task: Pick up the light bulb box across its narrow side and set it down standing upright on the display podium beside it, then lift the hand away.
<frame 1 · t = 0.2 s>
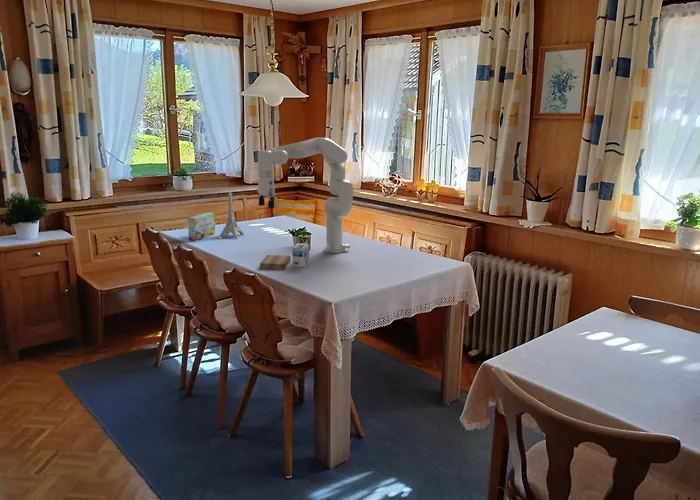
hand: (266, 206, 295), 31 cm above the table, tool pointing down, fingers open, 9 cm apart
eiffel tower: (231, 236, 363), on the table
light bulb box: (301, 265, 299), on the table
snack box: (202, 238, 358), on the table
podium: (275, 264, 299), on the table
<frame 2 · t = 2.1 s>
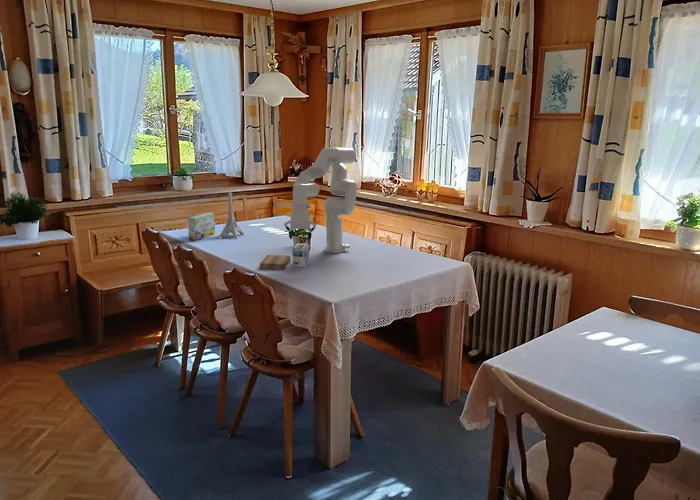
hand: (300, 239, 295), 14 cm above the table, tool pointing down, fingers open, 9 cm apart
nothing on the table moved.
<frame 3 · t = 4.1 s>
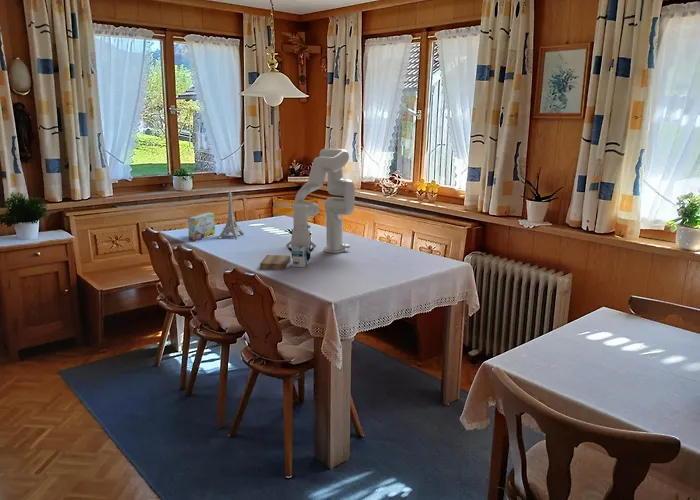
hand: (301, 259, 299), 3 cm above the table, tool pointing down, fingers closed on light bulb box, 7 cm apart
light bulb box: (301, 265, 299), on the table, touching gripper
everything else where it was.
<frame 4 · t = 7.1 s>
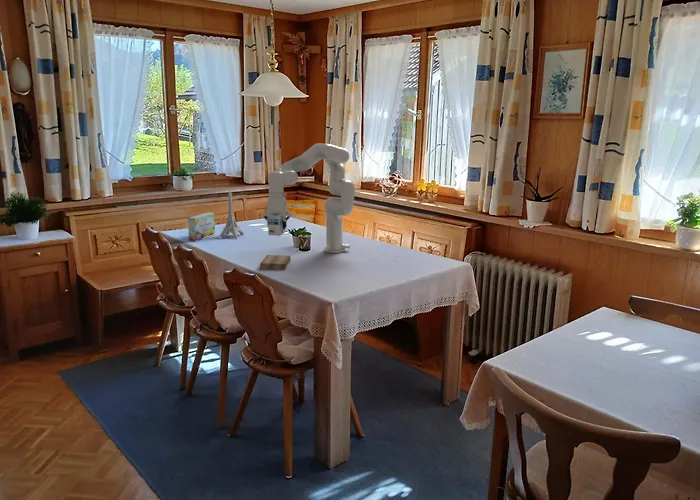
hand: (277, 228, 294), 20 cm above the table, tool pointing down, fingers closed on light bulb box, 7 cm apart
light bulb box: (277, 234, 294), point 17 cm above the table, touching gripper
everything else where it was.
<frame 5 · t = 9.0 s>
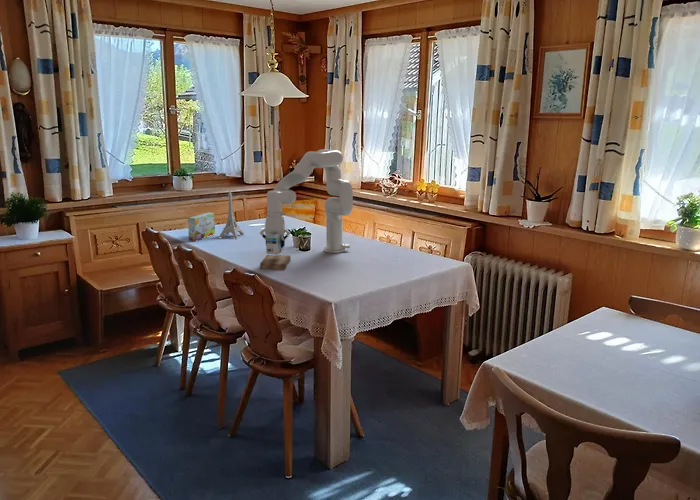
hand: (275, 246, 296), 10 cm above the table, tool pointing down, fingers closed on light bulb box, 7 cm apart
light bulb box: (275, 252, 297), point 7 cm above the table, touching gripper
everything else where it was.
when the fingers open (7 cm above the table, at t = 10.6 s): light bulb box drops 1 cm, resting on podium.
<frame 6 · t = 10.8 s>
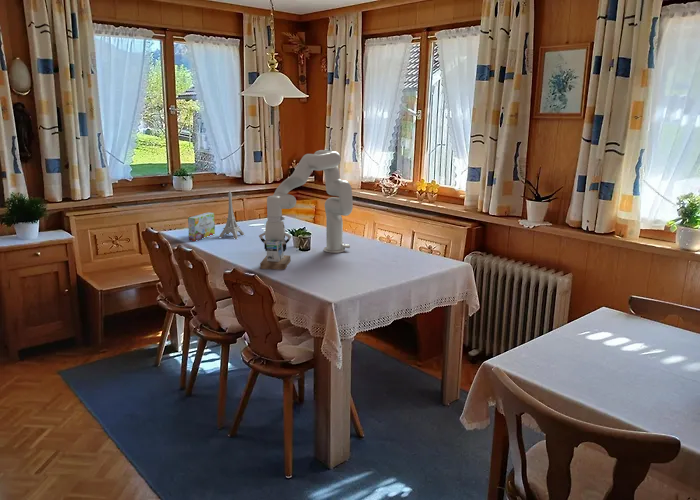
hand: (275, 250, 297), 8 cm above the table, tool pointing down, fingers open, 9 cm apart
light bulb box: (275, 259, 298), point 3 cm above the table, touching podium
everything else where it was.
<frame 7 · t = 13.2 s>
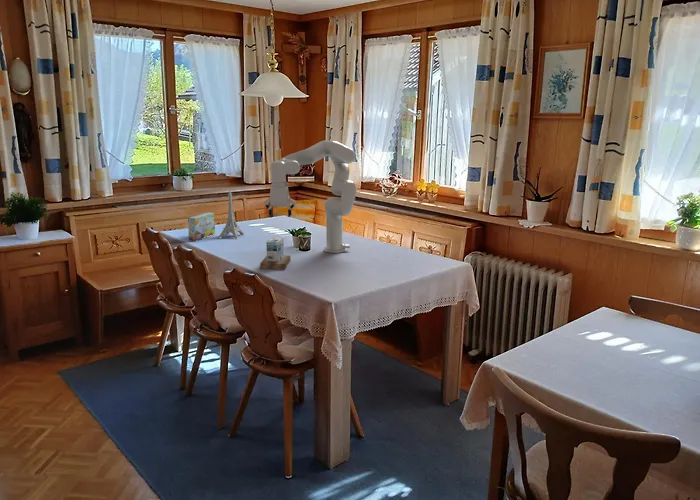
hand: (280, 216, 298), 25 cm above the table, tool pointing down, fingers open, 9 cm apart
nothing on the table moved.
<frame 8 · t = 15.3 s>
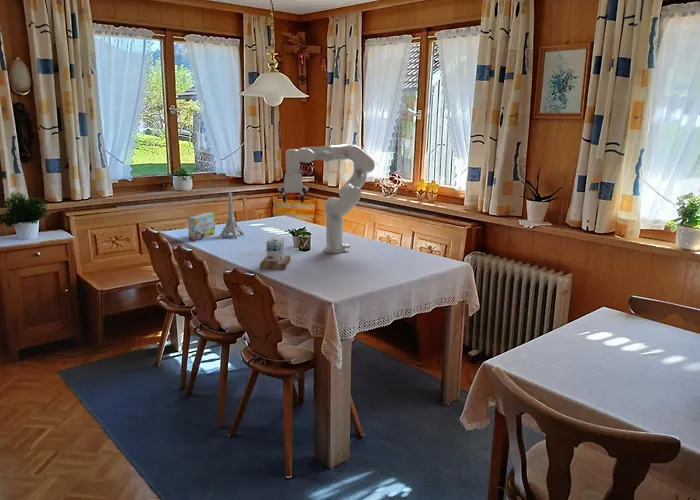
hand: (293, 202, 311), 30 cm above the table, tool pointing down, fingers open, 9 cm apart
nothing on the table moved.
at the end: light bulb box inside the target area on the podium (0.1 cm from its centre), point 2.8 cm above the podium's base; light bulb box tilted 0°; the gripper is holding nothing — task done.
